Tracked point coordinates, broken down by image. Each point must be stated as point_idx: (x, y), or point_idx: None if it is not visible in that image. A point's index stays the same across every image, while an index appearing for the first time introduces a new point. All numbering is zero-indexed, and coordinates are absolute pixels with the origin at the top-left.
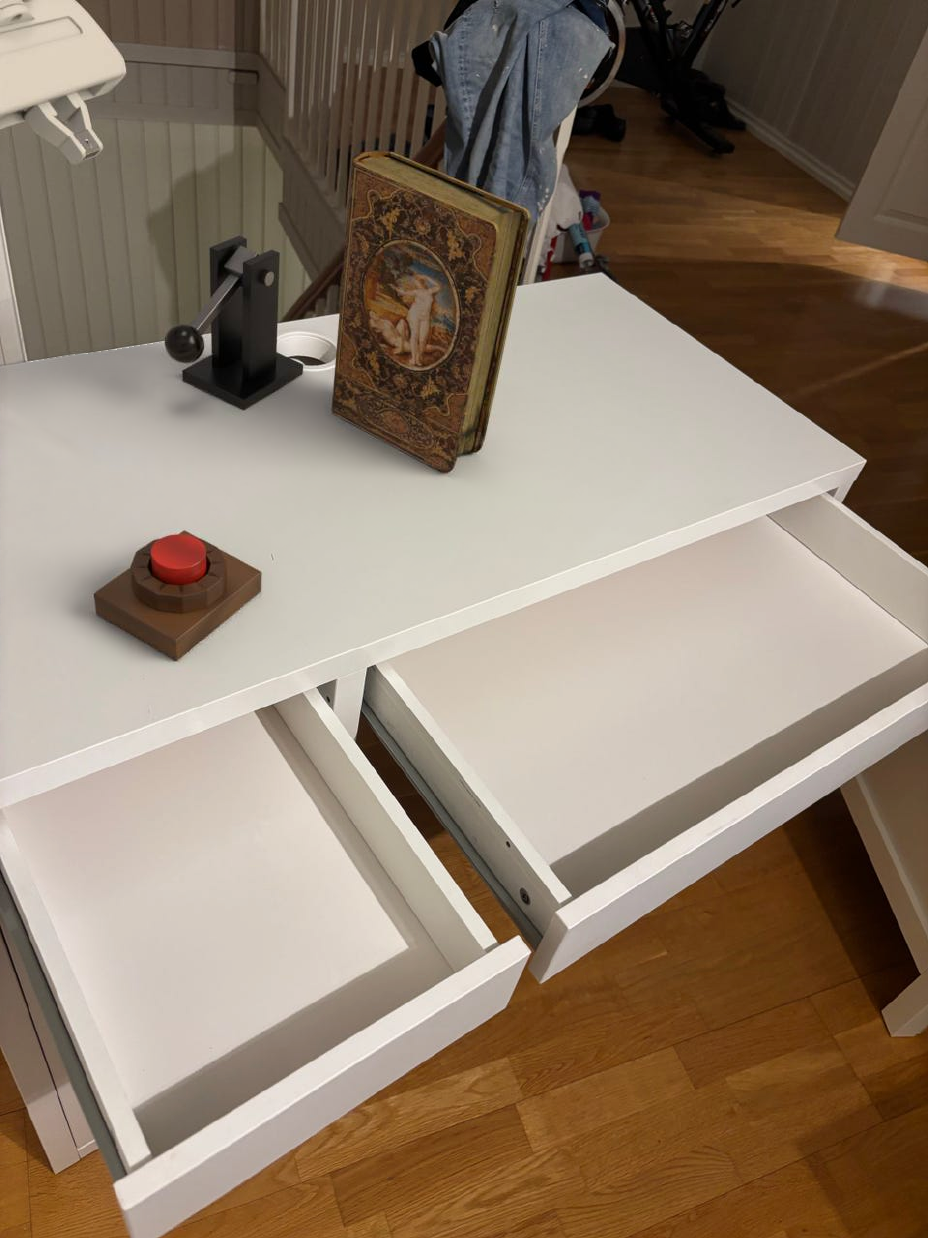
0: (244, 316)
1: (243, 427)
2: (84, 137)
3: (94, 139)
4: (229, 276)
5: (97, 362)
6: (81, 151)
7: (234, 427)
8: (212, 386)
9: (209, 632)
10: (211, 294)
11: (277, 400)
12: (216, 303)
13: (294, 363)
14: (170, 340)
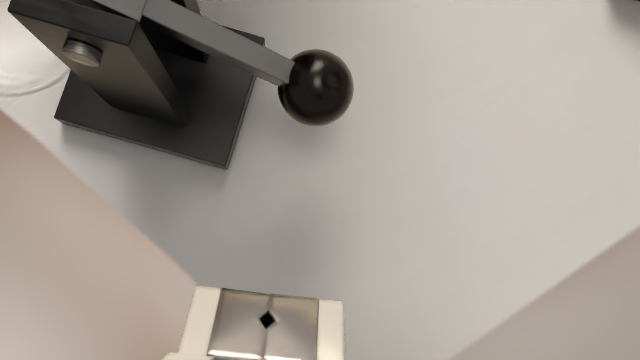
0: (188, 4)
1: (311, 28)
2: (267, 335)
3: (220, 311)
4: (151, 15)
5: None
6: (340, 305)
7: (317, 40)
8: (245, 102)
9: None
10: (158, 82)
11: (209, 9)
12: (229, 32)
13: None
14: (348, 96)
